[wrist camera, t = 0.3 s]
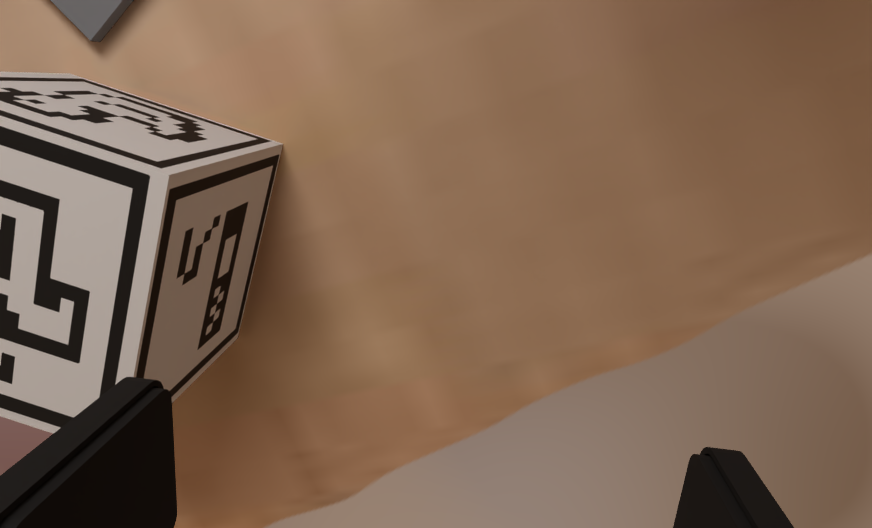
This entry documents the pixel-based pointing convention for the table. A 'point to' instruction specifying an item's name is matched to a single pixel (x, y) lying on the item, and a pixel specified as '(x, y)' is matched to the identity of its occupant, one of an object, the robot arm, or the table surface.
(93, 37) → the rubber mat
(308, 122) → the table surface
